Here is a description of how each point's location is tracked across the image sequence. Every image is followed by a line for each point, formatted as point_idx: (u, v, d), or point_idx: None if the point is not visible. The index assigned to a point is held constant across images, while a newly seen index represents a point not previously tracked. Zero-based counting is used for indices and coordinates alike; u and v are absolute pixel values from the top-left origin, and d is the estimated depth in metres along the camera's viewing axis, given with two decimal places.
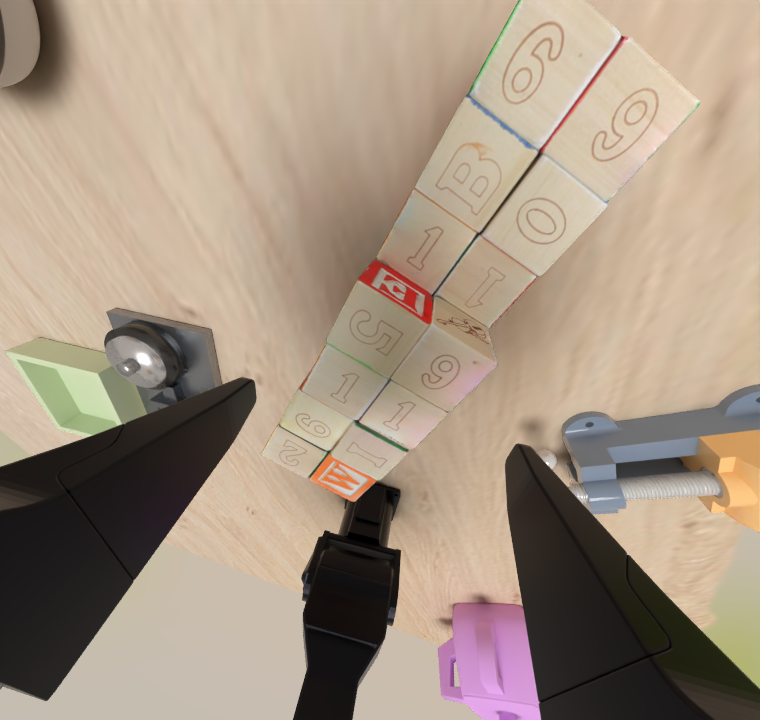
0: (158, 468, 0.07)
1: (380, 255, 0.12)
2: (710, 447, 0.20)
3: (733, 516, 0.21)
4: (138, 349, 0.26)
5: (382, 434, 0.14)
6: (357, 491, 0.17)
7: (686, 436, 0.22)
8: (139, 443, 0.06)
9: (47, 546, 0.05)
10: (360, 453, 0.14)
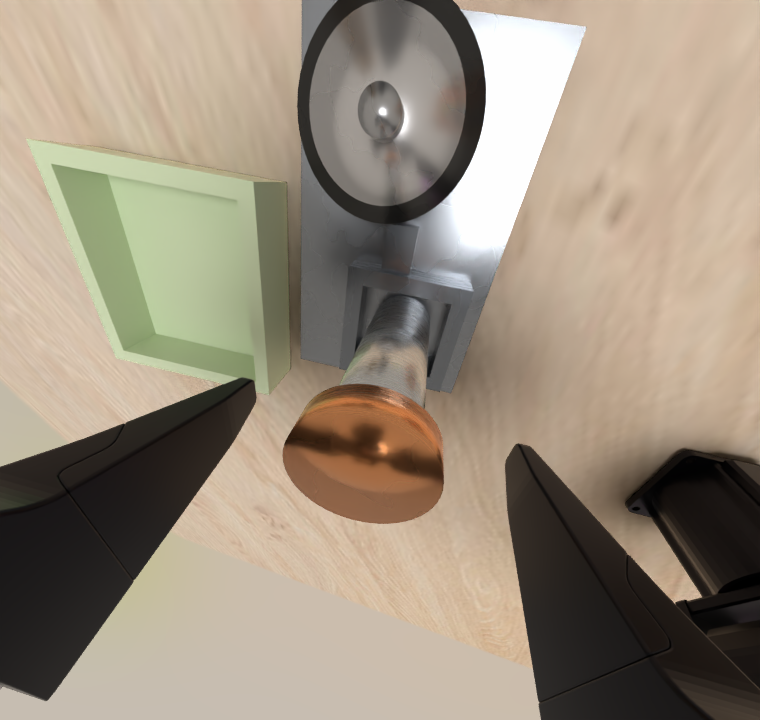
0: (158, 468, 0.07)
1: None
2: None
3: None
4: (433, 39, 0.09)
5: None
6: None
7: None
8: (139, 443, 0.06)
9: (47, 546, 0.05)
10: None
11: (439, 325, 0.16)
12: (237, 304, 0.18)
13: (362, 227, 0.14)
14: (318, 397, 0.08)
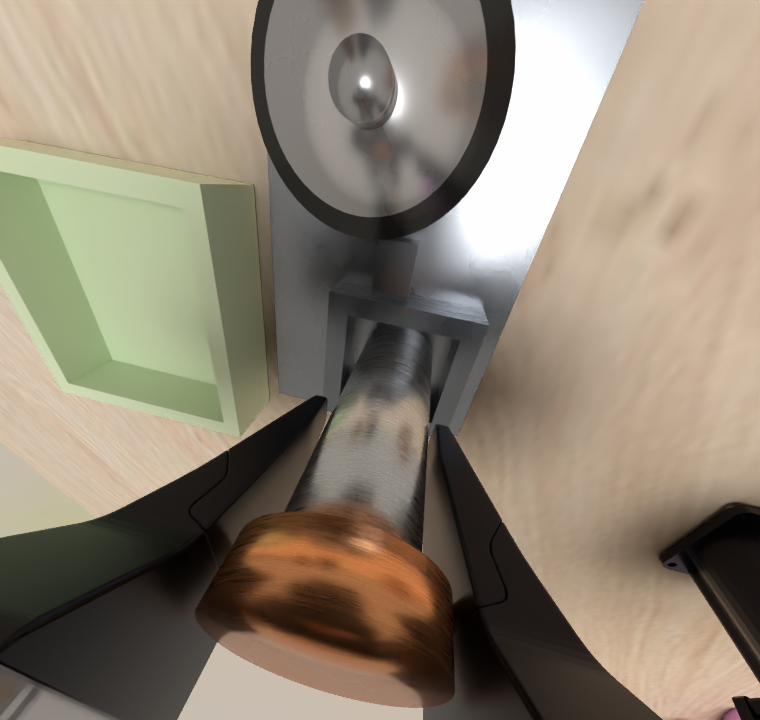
0: (262, 496, 0.07)
1: None
2: None
3: None
4: None
5: None
6: None
7: None
8: (251, 473, 0.06)
9: (185, 588, 0.05)
10: None
11: (444, 360, 0.13)
12: (203, 329, 0.15)
13: (347, 241, 0.11)
14: (254, 529, 0.05)
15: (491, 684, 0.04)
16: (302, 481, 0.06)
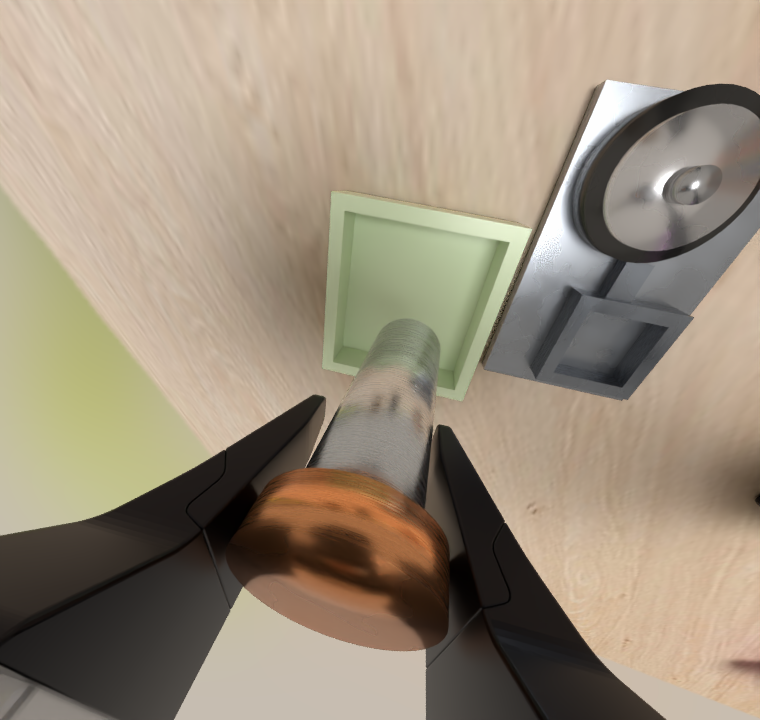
0: None
1: None
2: None
3: None
4: (750, 132, 0.11)
5: None
6: None
7: None
8: (248, 472, 0.06)
9: (183, 586, 0.05)
10: None
11: (632, 343, 0.19)
12: (436, 322, 0.21)
13: (588, 261, 0.17)
14: (276, 482, 0.06)
15: (496, 687, 0.04)
16: (317, 451, 0.07)
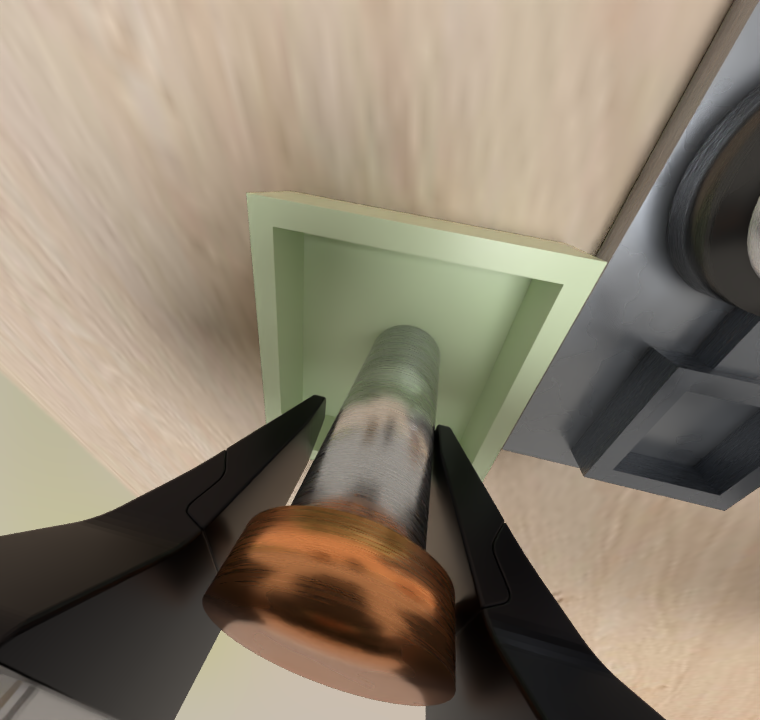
0: (260, 495, 0.07)
1: None
2: None
3: None
4: None
5: None
6: None
7: None
8: (248, 472, 0.06)
9: (183, 586, 0.05)
10: None
11: (735, 427, 0.12)
12: None
13: (684, 309, 0.10)
14: (260, 521, 0.05)
15: (495, 687, 0.04)
16: (308, 477, 0.07)
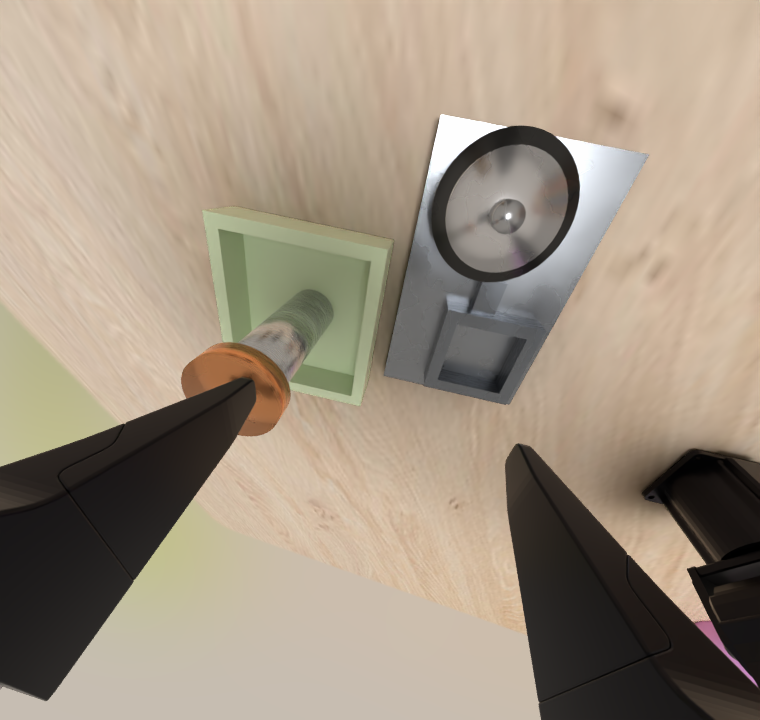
0: (158, 468, 0.07)
1: None
2: None
3: None
4: (550, 170, 0.12)
5: None
6: None
7: None
8: (139, 443, 0.06)
9: (47, 546, 0.05)
10: None
11: (508, 352, 0.20)
12: (334, 331, 0.22)
13: (456, 278, 0.18)
14: (204, 351, 0.12)
15: None
16: None
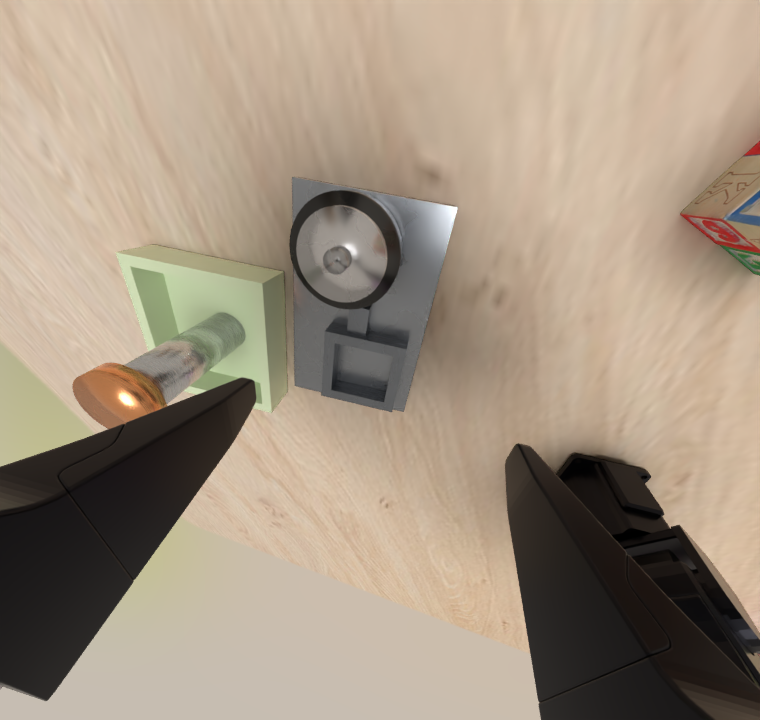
0: (158, 468, 0.07)
1: None
2: None
3: None
4: (364, 224, 0.16)
5: None
6: None
7: None
8: (139, 443, 0.06)
9: (47, 546, 0.05)
10: None
11: (391, 366, 0.23)
12: (249, 347, 0.25)
13: None
14: None
15: None
16: None
